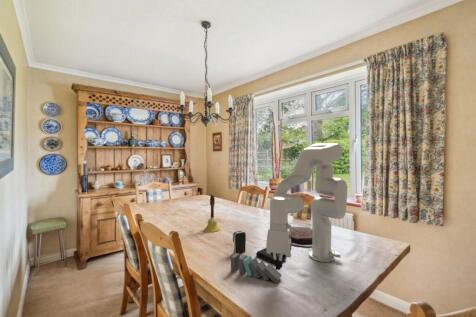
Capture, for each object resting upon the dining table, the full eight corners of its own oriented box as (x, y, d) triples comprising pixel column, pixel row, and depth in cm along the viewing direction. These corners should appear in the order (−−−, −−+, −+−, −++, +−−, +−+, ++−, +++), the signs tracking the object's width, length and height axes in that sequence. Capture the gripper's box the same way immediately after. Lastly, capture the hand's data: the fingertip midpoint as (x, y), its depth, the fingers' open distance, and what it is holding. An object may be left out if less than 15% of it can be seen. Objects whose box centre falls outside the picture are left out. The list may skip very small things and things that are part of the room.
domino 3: (248, 276, 104) (242, 260, 105) (252, 271, 108) (247, 256, 109) (251, 275, 103) (246, 260, 104) (256, 270, 107) (250, 255, 108)
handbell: (201, 231, 163) (200, 196, 162) (207, 226, 175) (207, 193, 174) (217, 233, 160) (217, 197, 160) (223, 227, 172) (223, 194, 171)
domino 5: (272, 273, 104) (261, 260, 106) (269, 278, 99) (257, 265, 102) (270, 275, 104) (259, 263, 107) (266, 281, 100) (254, 267, 102)
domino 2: (247, 270, 109) (247, 255, 109) (243, 275, 105) (242, 259, 105) (244, 269, 110) (243, 254, 110) (239, 274, 106) (238, 258, 106)
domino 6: (281, 274, 102) (269, 263, 104) (278, 280, 97) (265, 268, 100) (279, 278, 102) (267, 266, 105) (275, 283, 98) (263, 271, 101)
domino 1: (239, 268, 111) (239, 253, 111) (234, 272, 107) (234, 257, 107) (235, 267, 112) (235, 252, 112) (230, 271, 108) (230, 257, 108)
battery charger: (242, 249, 133) (242, 229, 133) (246, 251, 130) (246, 231, 130) (231, 251, 130) (231, 231, 129) (235, 254, 126) (235, 233, 126)
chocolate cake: (328, 250, 133) (328, 238, 133) (278, 246, 139) (279, 235, 139) (320, 233, 161) (320, 224, 161) (279, 230, 166) (279, 221, 166)
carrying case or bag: (289, 260, 121) (267, 251, 132) (289, 254, 121) (267, 245, 132) (276, 266, 114) (254, 256, 124) (276, 260, 113) (254, 251, 124)
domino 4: (264, 271, 106) (255, 257, 107) (260, 276, 101) (251, 262, 103) (261, 273, 106) (252, 259, 108) (256, 278, 102) (248, 264, 104)
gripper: (298, 226, 100) (297, 268, 100) (265, 221, 106) (265, 261, 107) (294, 231, 93) (293, 276, 93) (259, 226, 100) (259, 268, 100)
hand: (278, 268), depth 100 cm, fingers closed
